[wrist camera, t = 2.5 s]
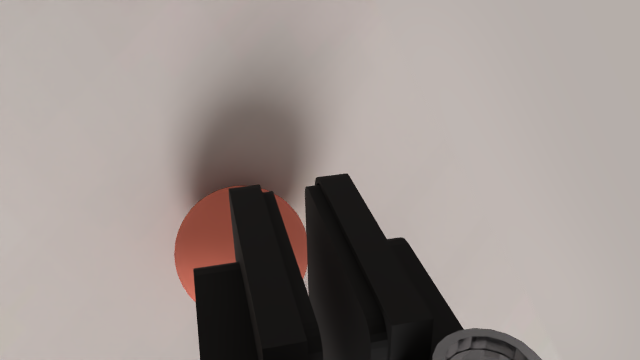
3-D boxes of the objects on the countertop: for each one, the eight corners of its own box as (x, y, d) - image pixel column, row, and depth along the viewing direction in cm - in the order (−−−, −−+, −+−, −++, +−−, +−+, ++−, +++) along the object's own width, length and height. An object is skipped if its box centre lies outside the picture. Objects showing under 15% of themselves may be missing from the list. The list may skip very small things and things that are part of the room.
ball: (165, 171, 28) (165, 242, 23) (292, 156, 29) (320, 220, 24) (181, 276, 31) (185, 359, 26) (297, 258, 32) (323, 335, 27)
